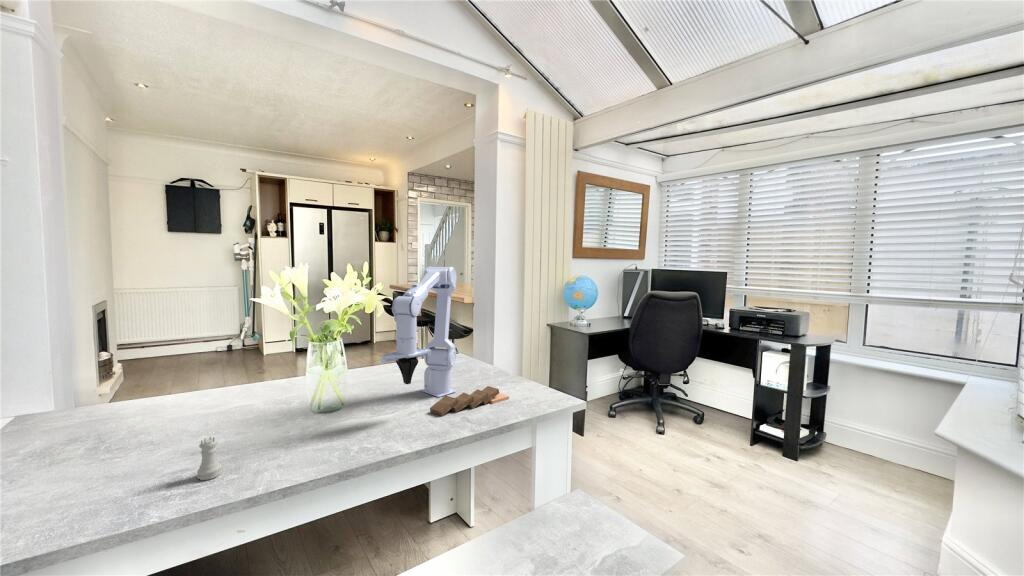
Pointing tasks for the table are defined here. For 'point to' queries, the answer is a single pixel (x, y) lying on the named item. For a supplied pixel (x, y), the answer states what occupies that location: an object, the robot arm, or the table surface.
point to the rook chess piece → (209, 460)
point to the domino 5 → (499, 398)
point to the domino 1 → (443, 405)
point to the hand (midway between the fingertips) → (407, 383)
